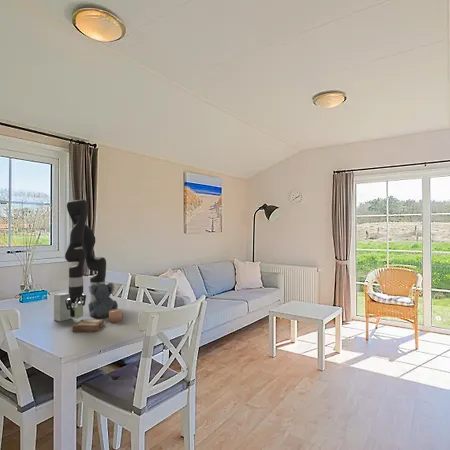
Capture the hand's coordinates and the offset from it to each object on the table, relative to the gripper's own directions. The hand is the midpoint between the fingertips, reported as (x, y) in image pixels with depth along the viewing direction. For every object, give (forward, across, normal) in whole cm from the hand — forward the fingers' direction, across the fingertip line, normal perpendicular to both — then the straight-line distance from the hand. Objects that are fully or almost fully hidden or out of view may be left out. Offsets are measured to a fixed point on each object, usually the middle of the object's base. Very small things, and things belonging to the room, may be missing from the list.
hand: (76, 315), depth 190 cm
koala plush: (+5, -20, +3) cm, 20 cm away
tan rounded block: (+4, -9, +19) cm, 21 cm away
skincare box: (+4, -4, -12) cm, 13 cm away
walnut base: (+4, +7, +14) cm, 16 cm away
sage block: (+1, 0, 0) cm, 1 cm away
